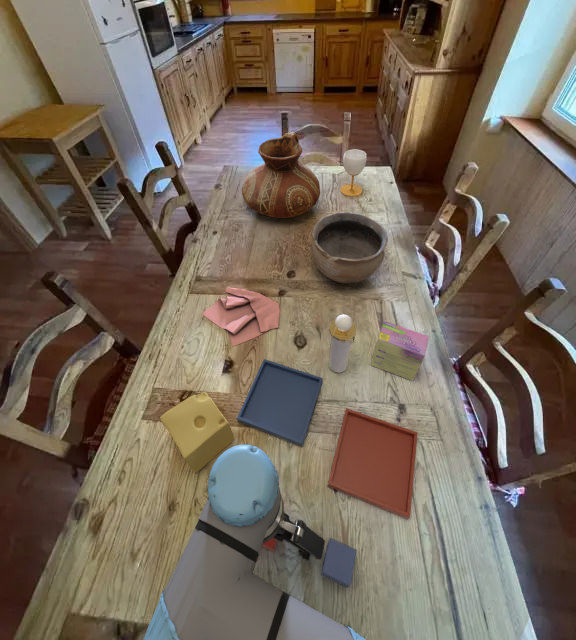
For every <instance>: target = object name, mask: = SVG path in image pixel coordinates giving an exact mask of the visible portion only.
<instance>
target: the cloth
mask: <svg viewBox="0 0 576 640" xmlns="http://www.w3.org/2000/svg"><path fill="white" fill-rule="evenodd" d="M225 293H227V296H226V298H227V299H225V298H218V299H217V301H215V302H214V303H213V304H212V305H211V306H210V307H208V308H207V309H205V311H204V312H201V315H202V316H203V317H205V318H207V320H209V321H211V322H212V323H213V324H215V325H216V326H217V327H219V328H221V329H222V330H227V334H228V338H229V340H230V343H231V346H232V347H235V346H238V345H241V344H243V343H246V342H247V341H251V340H252V339H255V338H257V337H260V336H262V335H264V334H266V333H267V332H268V331H269V330H274V329H279V326H280V317H281V307H280V303H279V302H278V301H277V300H272V299H271V298H270V297H267V296H265V295H263V294H261V293H260V292H256V291H254V290H248V289H245V288H239V287H226V288H225Z"/></svg>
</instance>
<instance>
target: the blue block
mask: <svg viewBox="0 0 576 640" xmlns="http://www.w3.org/2000/svg"><path fill="white" fill-rule="evenodd" d="M326 545H327V546H326V550H325V553H324V554H325V555H324V560H323V563H322V568H321V573H320V576H322V577H324V578H325V579H328V580H330V581H332V582H334V583H336V584H338V585H340V586H342V587H344V588H350V587H352V586H351V584H352V579H353V575H354V568H355V562H356V556H357V552H358V550H357V549H356V548H353V547H352V546H349V545H348V544H347V545H346V543H342V542H341V541H338V540H336V539H334V538H331V537H329V539H328V542H327V544H326Z"/></svg>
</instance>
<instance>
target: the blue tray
mask: <svg viewBox="0 0 576 640" xmlns="http://www.w3.org/2000/svg"><path fill="white" fill-rule="evenodd" d="M323 382H324V379H323V377H321V376H318V375H315V374H312V373H308V372H305V371H302V370H299V369H296V368H292V367H290V366H287V365H284V364H280V363H278V362H274V361H272V360H269V359H265V358H264V359H263V360H262V362H261V365H260V367H259V369H258V370H257V373H256V376H255V377H254V379H253V382H252V384H251V386H250V389H249V390H248V393H247V395H246V397H245V400H244V401H243V403H242V405H241V408H240V409H239V410H240V411H239V412H238V415H237V417H236V421H237V423H240V424H242V425H245V426H247V427H250V428H252V429H255V430H258V431H260V432H263V433H265V434H268V435H270V436H272V437H275V438H278V439H281V440H283V441H286V442H287V443H291V444H293V445H296V446H299V447H301V448H303V447H304V443H305V441H306V437H307V434H308V431H309V427H310V424H311V421H312V417H313V414H314V411H315V408H316V404H317V402H318V399H319V395H320V391H321V388H322V386H323Z"/></svg>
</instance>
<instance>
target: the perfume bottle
mask: <svg viewBox="0 0 576 640" xmlns="http://www.w3.org/2000/svg"><path fill="white" fill-rule="evenodd" d="M329 333H330V336H331V338H330V348H329V357H328V366H329V368H330V369H331V370H332V371H333V372H335V373H342V372H345V371H346V370H347V368H348V364H349V357H350V352H351V347H352V343H353V342H355V339H356V337H355V336H356V335H357V326H356V324H355V323H354V321H353V320H352V318H351V317H350V315H348V314H346V313H345V314H343V313H341V314H339V315H338V316H337V317H336V318H334V319H332V321H331V322H330V324H329Z"/></svg>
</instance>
